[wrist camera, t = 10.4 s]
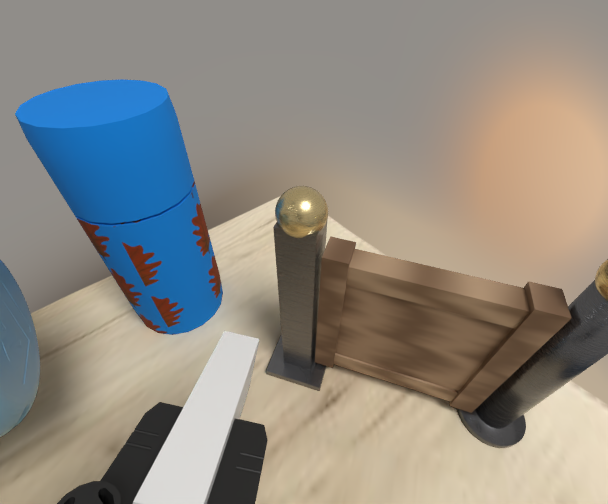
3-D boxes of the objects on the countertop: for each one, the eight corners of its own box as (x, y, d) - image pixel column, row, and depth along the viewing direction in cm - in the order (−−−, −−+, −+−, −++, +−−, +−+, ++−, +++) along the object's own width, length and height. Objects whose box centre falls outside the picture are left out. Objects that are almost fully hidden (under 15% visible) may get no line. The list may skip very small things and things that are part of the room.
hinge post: (448, 419, 31) (595, 266, 16) (467, 373, 35) (603, 209, 19) (513, 463, 29) (767, 331, 13) (527, 408, 32) (740, 252, 16)
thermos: (190, 258, 47) (124, 71, 29) (240, 293, 42) (199, 96, 25) (121, 306, 41) (-13, 104, 23) (172, 352, 36) (53, 144, 19)
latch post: (333, 342, 37) (356, 175, 22) (319, 391, 33) (336, 228, 17) (285, 328, 38) (275, 161, 23) (266, 374, 34) (238, 208, 19)
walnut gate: (470, 389, 32) (562, 289, 21) (471, 412, 30) (571, 318, 19) (321, 343, 35) (330, 236, 24) (314, 362, 34) (321, 257, 23)
